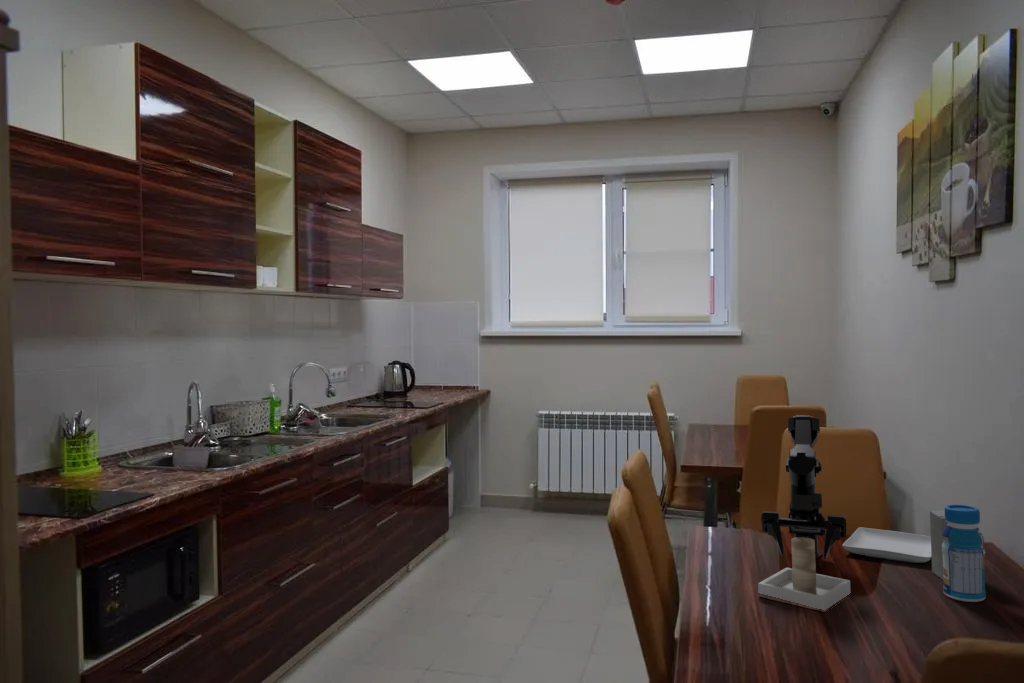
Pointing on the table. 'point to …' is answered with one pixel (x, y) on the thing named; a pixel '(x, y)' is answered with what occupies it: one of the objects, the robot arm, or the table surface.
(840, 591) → the grey bin
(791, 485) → the robot arm
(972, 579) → the beverage bottle
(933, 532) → the skincare box
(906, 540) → the salad plate
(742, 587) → the table surface
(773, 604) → the table surface
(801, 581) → the birch peg
